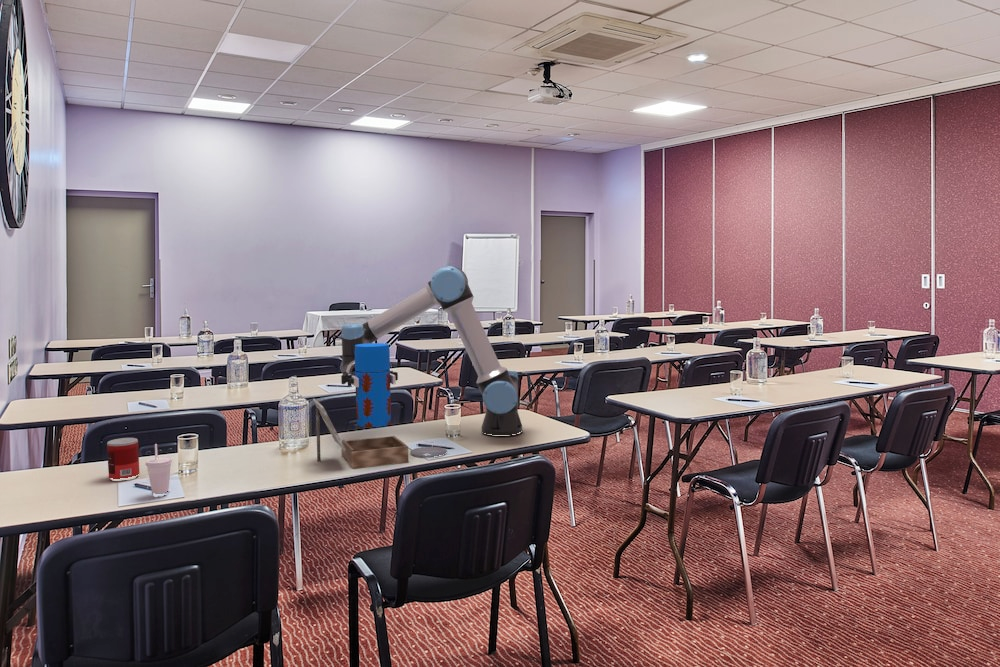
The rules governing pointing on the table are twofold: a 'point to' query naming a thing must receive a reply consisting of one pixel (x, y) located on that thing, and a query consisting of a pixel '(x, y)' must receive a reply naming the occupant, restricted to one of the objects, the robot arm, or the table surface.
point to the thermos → (373, 384)
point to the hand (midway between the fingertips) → (376, 381)
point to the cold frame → (364, 446)
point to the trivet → (427, 452)
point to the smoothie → (159, 473)
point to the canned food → (123, 458)
